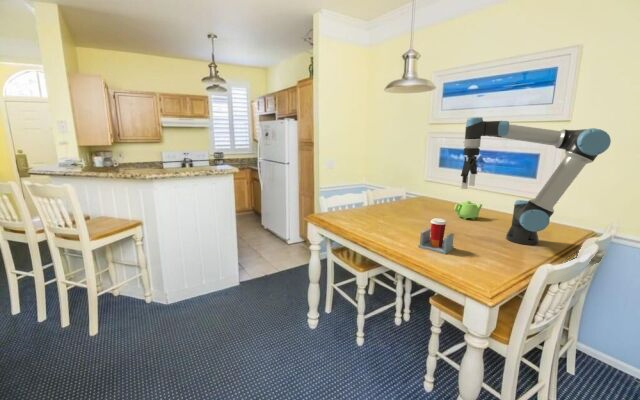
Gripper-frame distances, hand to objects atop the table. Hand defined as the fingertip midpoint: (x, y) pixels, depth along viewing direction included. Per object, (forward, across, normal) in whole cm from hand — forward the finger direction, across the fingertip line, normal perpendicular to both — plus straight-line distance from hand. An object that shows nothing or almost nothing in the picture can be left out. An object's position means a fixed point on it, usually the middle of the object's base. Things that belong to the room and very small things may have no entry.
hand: (468, 187), depth 162 cm
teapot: (+31, -53, -12) cm, 62 cm away
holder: (+30, +22, -7) cm, 38 cm away
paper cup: (+29, +22, -7) cm, 37 cm away
